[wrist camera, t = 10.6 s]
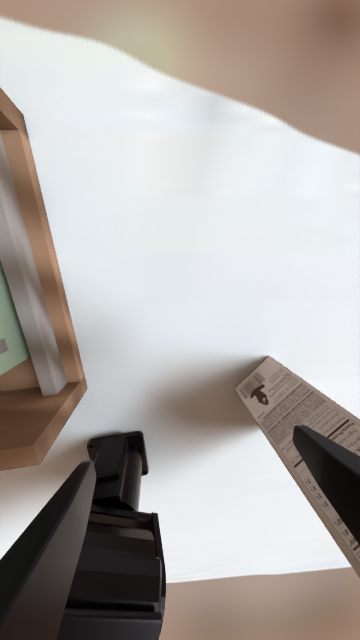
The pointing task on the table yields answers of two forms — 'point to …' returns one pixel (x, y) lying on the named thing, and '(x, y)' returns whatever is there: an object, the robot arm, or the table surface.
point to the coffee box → (277, 425)
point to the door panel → (10, 330)
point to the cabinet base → (32, 308)
